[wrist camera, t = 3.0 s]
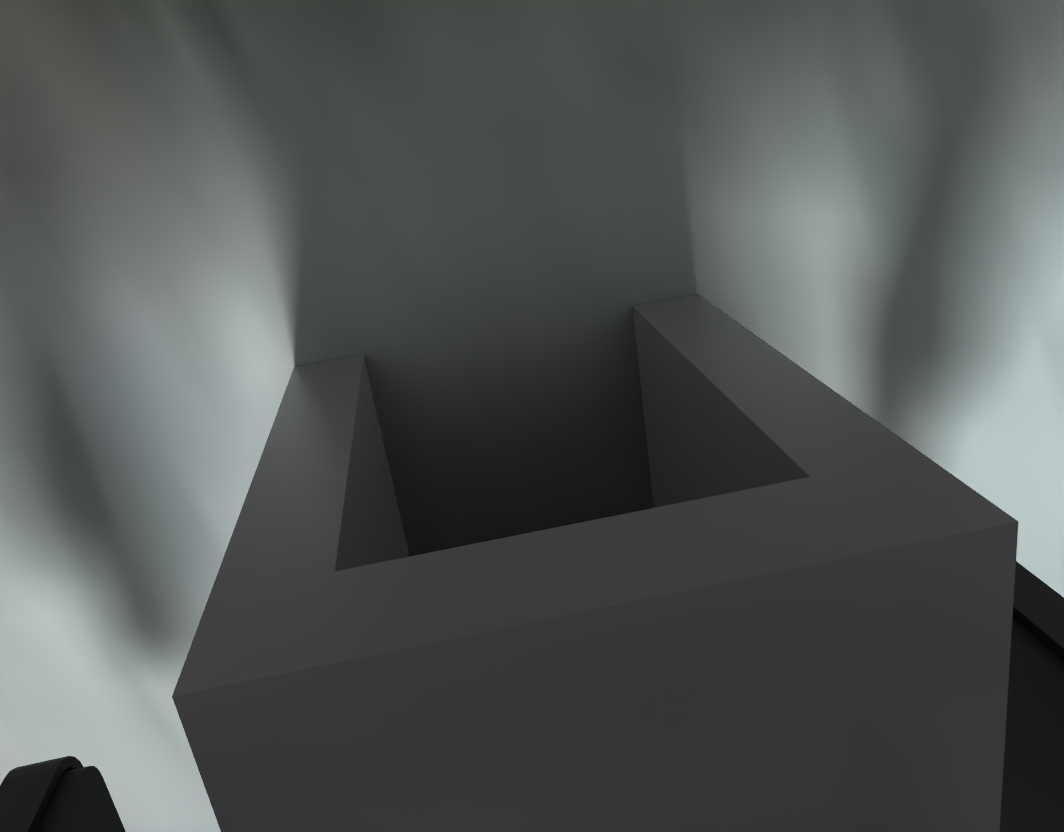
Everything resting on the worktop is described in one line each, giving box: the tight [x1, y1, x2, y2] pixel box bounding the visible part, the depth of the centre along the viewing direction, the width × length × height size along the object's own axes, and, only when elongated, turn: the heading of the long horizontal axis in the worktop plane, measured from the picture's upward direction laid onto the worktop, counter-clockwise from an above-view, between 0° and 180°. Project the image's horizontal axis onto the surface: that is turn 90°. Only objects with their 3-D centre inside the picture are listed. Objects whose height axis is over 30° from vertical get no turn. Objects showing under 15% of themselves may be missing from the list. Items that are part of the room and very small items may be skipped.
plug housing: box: [172, 294, 1018, 832], centre depth 9 cm, size 5×9×6 cm, turn 8°
